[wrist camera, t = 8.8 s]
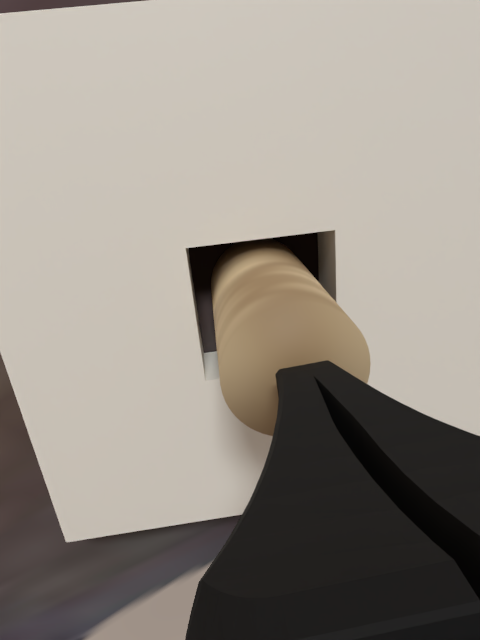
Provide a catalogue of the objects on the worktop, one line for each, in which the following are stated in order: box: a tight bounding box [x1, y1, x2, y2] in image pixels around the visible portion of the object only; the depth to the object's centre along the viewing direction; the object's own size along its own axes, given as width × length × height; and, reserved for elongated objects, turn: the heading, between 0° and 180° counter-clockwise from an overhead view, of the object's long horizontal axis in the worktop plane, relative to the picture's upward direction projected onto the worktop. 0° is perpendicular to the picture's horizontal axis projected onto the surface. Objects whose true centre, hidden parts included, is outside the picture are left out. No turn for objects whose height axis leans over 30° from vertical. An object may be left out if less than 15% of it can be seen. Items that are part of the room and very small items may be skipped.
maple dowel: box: [211, 238, 371, 436], centre depth 15 cm, size 4×4×8 cm
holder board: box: [0, 0, 480, 542], centre depth 18 cm, size 20×20×2 cm
